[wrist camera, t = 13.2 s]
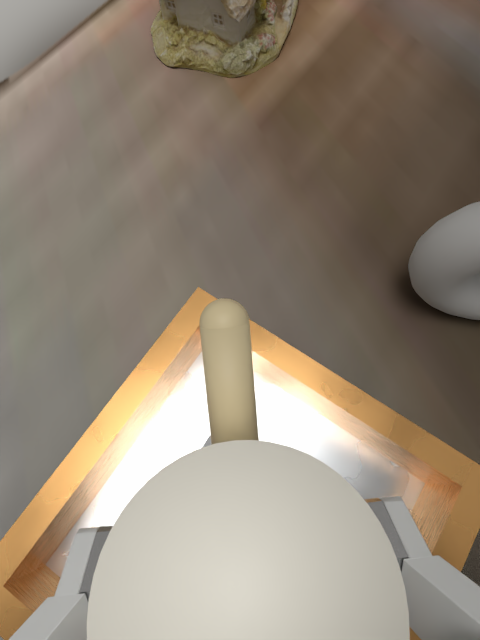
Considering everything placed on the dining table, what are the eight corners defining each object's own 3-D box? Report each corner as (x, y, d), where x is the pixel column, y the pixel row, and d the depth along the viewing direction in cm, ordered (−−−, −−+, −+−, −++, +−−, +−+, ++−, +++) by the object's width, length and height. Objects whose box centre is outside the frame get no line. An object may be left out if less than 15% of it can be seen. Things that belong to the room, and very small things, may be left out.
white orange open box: (210, 337, 25) (195, 271, 17) (415, 471, 23) (519, 474, 14) (15, 603, 20) (-144, 699, 12) (245, 813, 18) (250, 1127, 9)
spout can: (327, 607, 14) (447, 800, 6) (173, 624, 14) (79, 848, 6) (292, 361, 17) (340, 264, 9) (166, 373, 17) (96, 285, 9)
